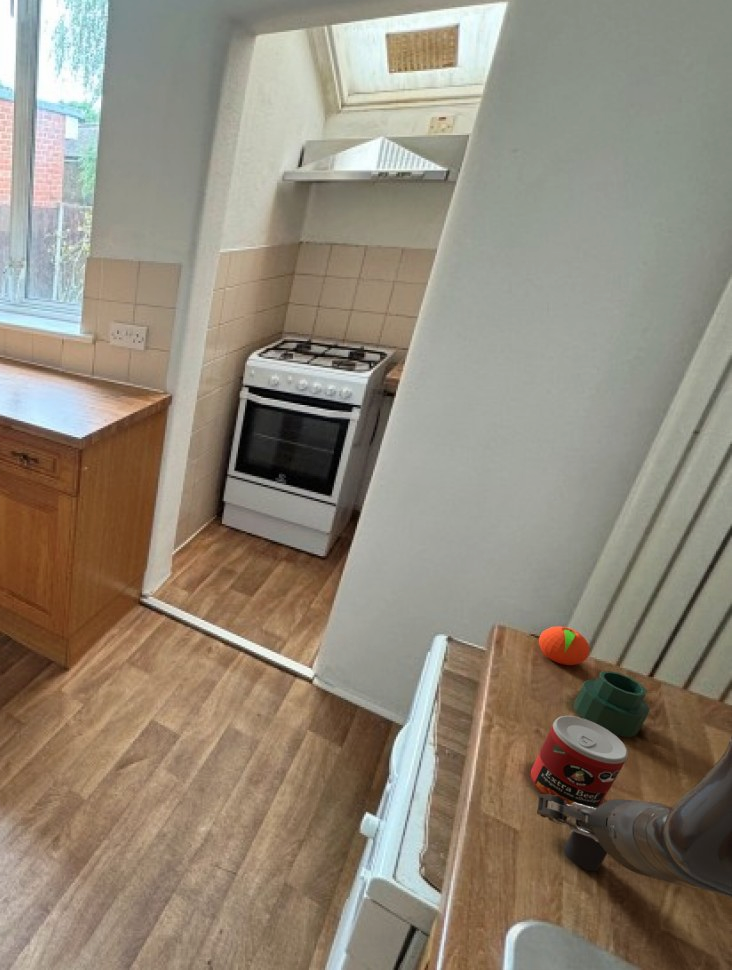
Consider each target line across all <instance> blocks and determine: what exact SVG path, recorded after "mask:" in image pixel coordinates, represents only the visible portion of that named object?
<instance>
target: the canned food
mask: <svg viewBox="0 0 732 970" xmlns="http://www.w3.org/2000/svg"><path fill="white" fill-rule="evenodd" d="M628 755H629V751H628V749H627V746H626V745H625V743H624V742H623V741H622V740H621V739H620V738H619V737H618V735H615V734H613V733H611V732H610V731H608V730H607V729H605V728H603V727H602V726H600V725H598V724H596V723H594V722H591V721H589V720H586V719H584V718H582V717H579V716H573V715H562V716H558V717H557V718H556V719H555V720H554V721H553V723H552V725H551V727H550V729H549V731H548V733H547V736H546V738H545V740H544V742H543V744H542V746H541V748H540V750H539V752H538V755H537V757H536V759H535V761H534V763H533V765H532V768H531V770H530V778H531V781H532V783H533V785H534V787H535V788H536V789H537V790H538V791H539V792H540V794H546V795H554V796H555V795H557V796H560V797H561V798H562V799H564V800H565V801H566V804H568V805H571V804H572V803H578V804H582V805H585V806H594V807H599V806H600V805H601V804H603V803H604V800H605V798H606V797H607V795H608V793H609V791H610V789H611V787H613V784H614V782H615V781H616V778H617V777H618V775H619V773H620V772H621V770H622V768H623V766H624V764H625V762H626V761H627V758H628Z"/></svg>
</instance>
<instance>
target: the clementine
mask: <svg viewBox="0 0 732 970" xmlns="http://www.w3.org/2000/svg"><path fill="white" fill-rule="evenodd" d="M538 644H539V648H540V650H541V652H542V653H543V654H544V655H545V656H546V657H547V658H548V659H549V660H551V661H552V662H554V663H557V664H559V665H564V666H575V665H579V664H581V663H583V662H585V661H586V660H587V659H588V657H589V655H590V652H591V650H590V649H591V648H590V645H589V642H588V640H587V639H586V638H585V636H583V635H582V634H581V633H580V632H578V631H576V630H575V629H573V628H571V627H566V626H552V627H548V628H547V629H544V630H543V631H542V632H541V634H540V635H539V637H538Z"/></svg>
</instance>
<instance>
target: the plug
mask: <svg viewBox="0 0 732 970" xmlns="http://www.w3.org/2000/svg"><path fill="white" fill-rule="evenodd" d="M588 807H592V808H598V807H594V806H588ZM585 830H586V829H585ZM586 831H587V832H590V831H588V830H586ZM590 833H591V832H590ZM563 852H564V854H565V856H566V857H567V859H568V860H569V861H571V862H572V863H573V864H575V865H576V866H577V867H579V868H581V869H583V870H585V871H589V872H596V871H598V870H599V869H600V866H601V865H602V863H603V861H604V860H605V859H606V857H607V855H608V853H607V852H606V851H605V850H604V849H603V847H602V846H601V844H600V843H599V842H597V841H595V840H594V839H592V838H589V837H586V836H583V835H580V834H578V833H576V832H574V831H572V832H571V834H570V836H569V837H568V839H567V841H566V843H565V845H564V847H563Z"/></svg>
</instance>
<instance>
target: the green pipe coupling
mask: <svg viewBox="0 0 732 970" xmlns="http://www.w3.org/2000/svg"><path fill="white" fill-rule="evenodd" d="M647 691H648V690H647V688H645V686H643V684H642V683H640V682H639V681H637V680H636V679H634V678H632V677H630V676H628V675H625V674H623V673H621V672H617V671H612V670H601V671H600V673H599V675H598V677H597V679H595V678H594V679H593V678H590V679H588V680H585V681H584V682H583V684H582V686H581V687H580V690H579V692H578V694H577V696H576V698H575V700H574V702H573V708H574V710H575V712H576V713H577V714H578V715H579V716H580V718H583V719H586V720H589V721H591V722H594V723H596V724H598V725H600V726H602V727H603V728H605V729H607V730H608V731H610V732H611V733H613V734H614V735H615V736H620V737H627V738H628V737H629V738H631V737H634V736H636V735H638V733H639V731H640V730H641V728H642V726H643V725H644V723H645V721H646V720H647V718H648V715H649V713H650V710H651V709H650V707H649V705H648V704H647V703H646V701H644V699H645V697H646V695H647Z"/></svg>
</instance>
